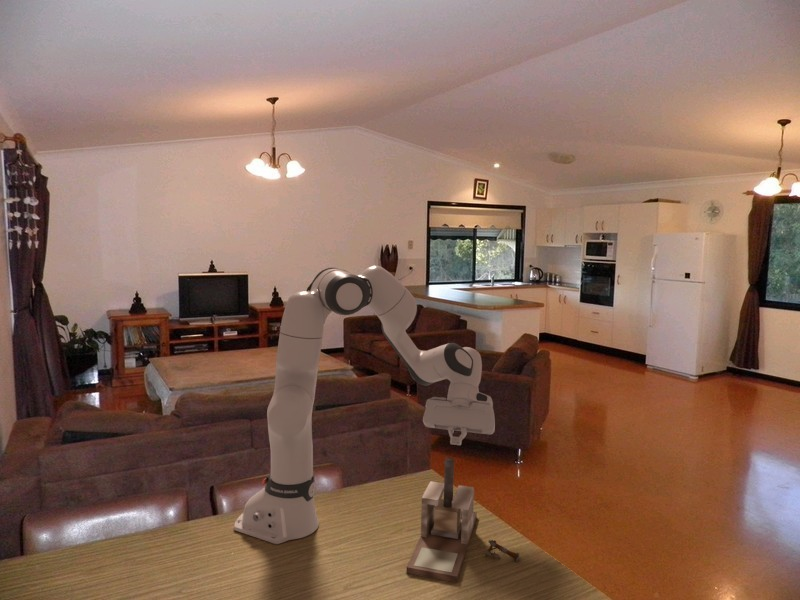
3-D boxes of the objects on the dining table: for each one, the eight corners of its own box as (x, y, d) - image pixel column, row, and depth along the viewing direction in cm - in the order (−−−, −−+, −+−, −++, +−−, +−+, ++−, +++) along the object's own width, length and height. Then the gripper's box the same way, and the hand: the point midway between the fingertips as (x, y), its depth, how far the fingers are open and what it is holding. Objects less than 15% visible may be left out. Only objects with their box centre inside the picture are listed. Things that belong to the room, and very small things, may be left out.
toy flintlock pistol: (482, 550, 139) (490, 536, 138) (511, 566, 138) (519, 551, 137) (481, 555, 137) (490, 540, 136) (511, 571, 136) (520, 556, 135)
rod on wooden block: (431, 534, 144) (432, 463, 142) (437, 519, 152) (439, 452, 149) (457, 539, 142) (460, 467, 140) (463, 523, 150) (465, 455, 147)
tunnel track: (406, 573, 130) (407, 524, 129) (434, 510, 160) (435, 471, 159) (457, 582, 127) (458, 533, 126) (476, 517, 157) (477, 476, 155)
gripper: (425, 390, 162) (416, 434, 154) (496, 397, 156) (491, 443, 148) (428, 401, 167) (420, 444, 158) (497, 408, 161) (492, 453, 153)
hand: (455, 444), depth 153 cm, fingers closed
